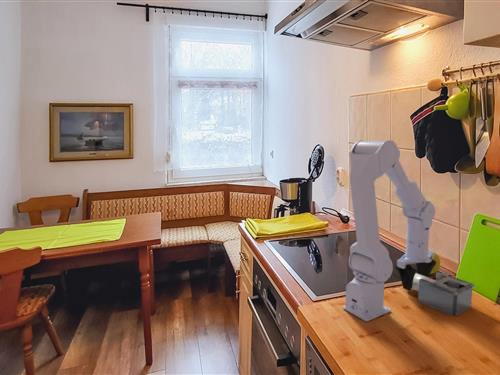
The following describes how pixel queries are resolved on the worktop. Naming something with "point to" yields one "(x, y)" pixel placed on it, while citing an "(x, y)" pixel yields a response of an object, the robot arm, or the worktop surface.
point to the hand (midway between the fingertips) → (414, 286)
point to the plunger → (453, 284)
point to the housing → (446, 294)
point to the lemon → (437, 266)
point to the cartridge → (416, 281)
